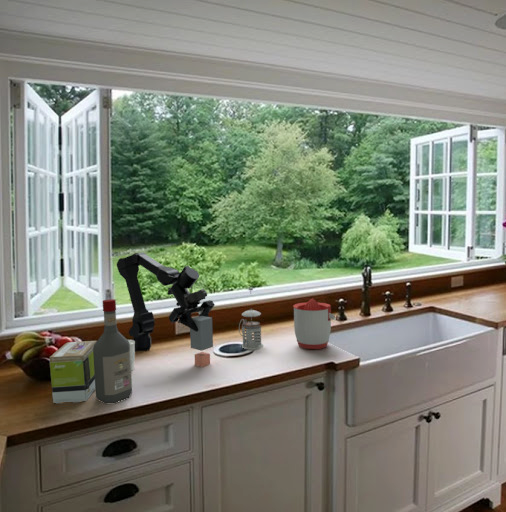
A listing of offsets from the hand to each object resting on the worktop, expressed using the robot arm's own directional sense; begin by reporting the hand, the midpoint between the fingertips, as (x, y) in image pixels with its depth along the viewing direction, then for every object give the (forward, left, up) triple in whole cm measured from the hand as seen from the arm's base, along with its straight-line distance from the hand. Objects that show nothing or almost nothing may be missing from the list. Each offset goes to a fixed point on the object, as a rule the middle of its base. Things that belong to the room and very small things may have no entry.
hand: (203, 329), depth 153 cm
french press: (+20, +18, -14) cm, 30 cm away
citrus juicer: (+46, +12, -14) cm, 50 cm away
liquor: (-29, -22, -14) cm, 39 cm away
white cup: (-29, +2, -14) cm, 32 cm away
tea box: (-41, -16, -14) cm, 46 cm away
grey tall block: (-1, +1, -7) cm, 7 cm away
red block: (-1, +1, -14) cm, 14 cm away
